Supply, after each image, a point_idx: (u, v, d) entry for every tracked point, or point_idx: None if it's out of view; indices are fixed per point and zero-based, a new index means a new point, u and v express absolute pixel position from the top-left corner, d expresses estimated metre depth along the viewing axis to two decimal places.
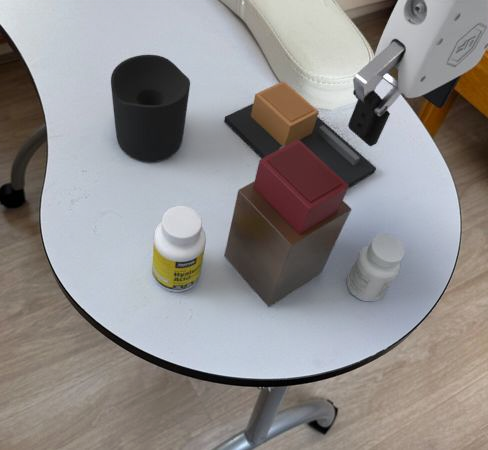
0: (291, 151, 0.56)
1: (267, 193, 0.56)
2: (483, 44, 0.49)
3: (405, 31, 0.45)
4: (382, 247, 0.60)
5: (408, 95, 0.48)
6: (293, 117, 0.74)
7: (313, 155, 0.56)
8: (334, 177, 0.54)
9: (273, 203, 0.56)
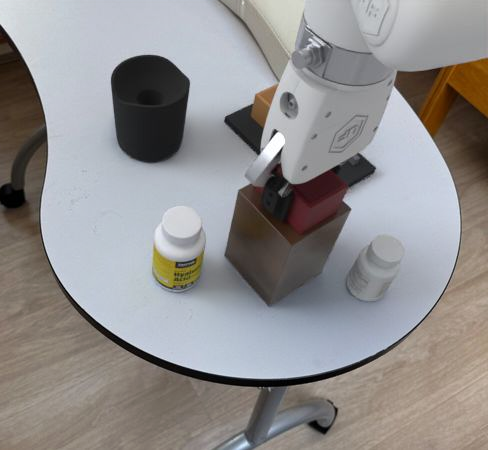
0: None
1: None
2: (370, 128, 0.49)
3: (282, 124, 0.45)
4: (382, 247, 0.60)
5: (292, 182, 0.48)
6: None
7: None
8: (334, 177, 0.54)
9: None
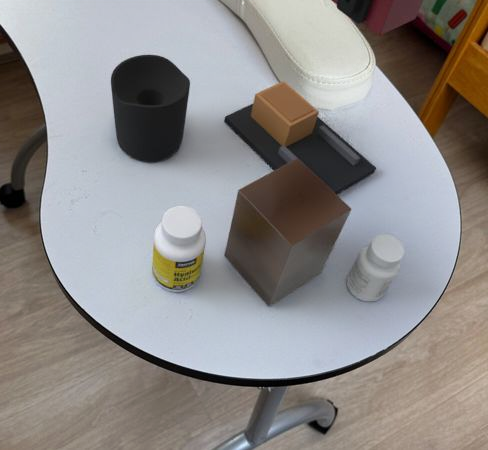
0: None
1: None
2: None
3: None
4: (381, 247, 0.60)
5: None
6: (293, 117, 0.74)
7: None
8: None
9: None
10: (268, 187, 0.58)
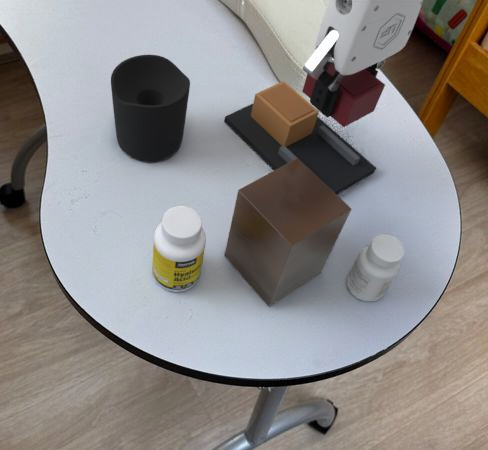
0: None
1: None
2: (406, 31, 0.60)
3: (337, 20, 0.56)
4: (381, 247, 0.60)
5: (343, 72, 0.59)
6: (293, 117, 0.74)
7: None
8: (373, 78, 0.65)
9: None
10: (268, 187, 0.58)
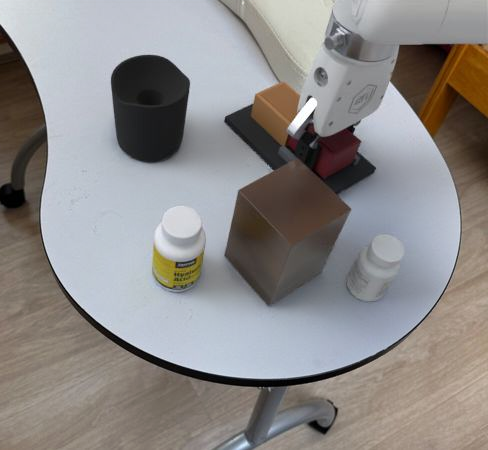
0: None
1: None
2: (378, 96, 0.67)
3: (315, 90, 0.63)
4: (382, 247, 0.60)
5: (321, 135, 0.66)
6: (293, 117, 0.74)
7: None
8: (350, 135, 0.72)
9: None
10: (268, 187, 0.58)
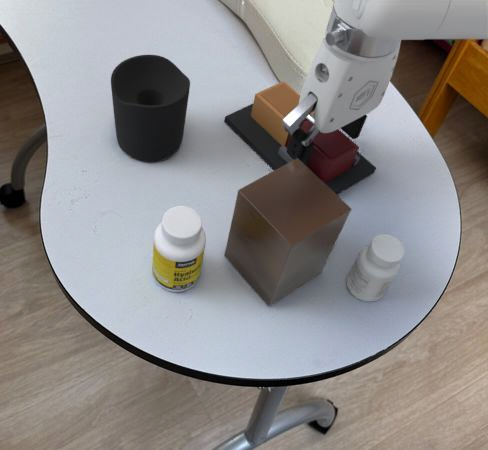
0: None
1: None
2: (379, 92, 0.67)
3: (316, 87, 0.63)
4: (381, 247, 0.60)
5: (322, 131, 0.65)
6: None
7: None
8: (348, 141, 0.73)
9: None
10: (268, 187, 0.58)
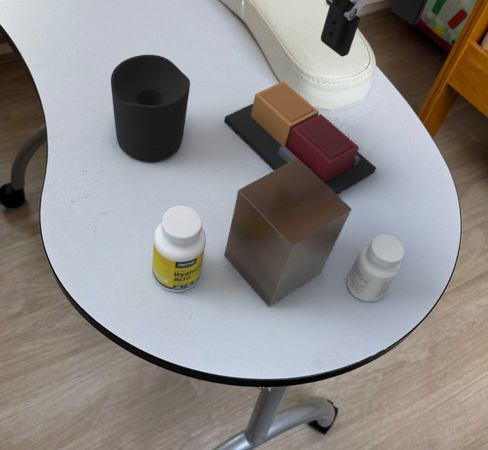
0: (315, 122, 0.74)
1: (297, 154, 0.75)
2: None
3: None
4: (382, 247, 0.60)
5: None
6: (293, 117, 0.74)
7: (332, 125, 0.74)
8: (348, 141, 0.73)
9: (302, 161, 0.75)
10: (268, 187, 0.58)
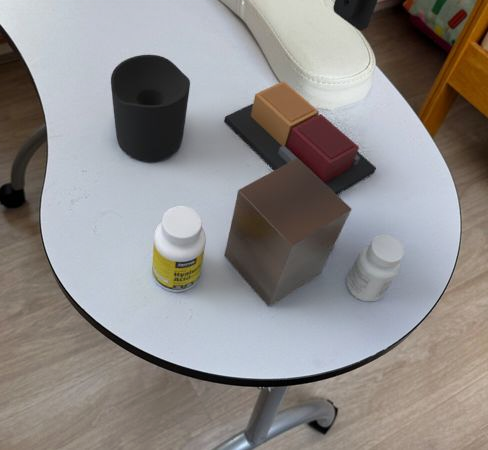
0: (315, 122, 0.74)
1: (297, 154, 0.75)
2: None
3: None
4: (381, 247, 0.60)
5: None
6: (293, 117, 0.74)
7: (332, 125, 0.74)
8: (348, 141, 0.73)
9: (302, 161, 0.75)
10: (268, 187, 0.58)
